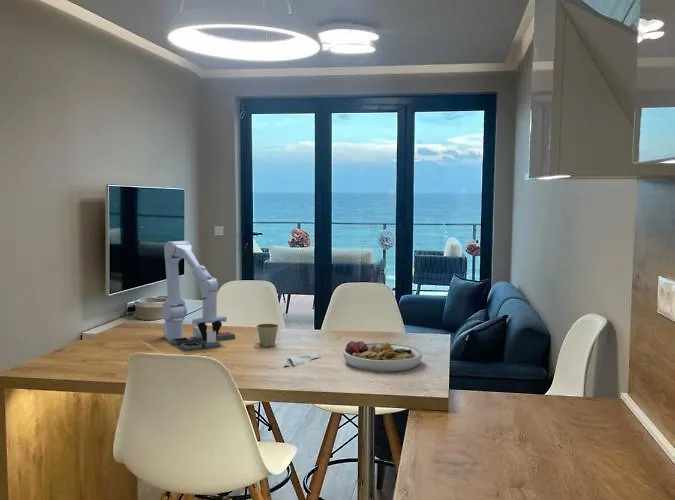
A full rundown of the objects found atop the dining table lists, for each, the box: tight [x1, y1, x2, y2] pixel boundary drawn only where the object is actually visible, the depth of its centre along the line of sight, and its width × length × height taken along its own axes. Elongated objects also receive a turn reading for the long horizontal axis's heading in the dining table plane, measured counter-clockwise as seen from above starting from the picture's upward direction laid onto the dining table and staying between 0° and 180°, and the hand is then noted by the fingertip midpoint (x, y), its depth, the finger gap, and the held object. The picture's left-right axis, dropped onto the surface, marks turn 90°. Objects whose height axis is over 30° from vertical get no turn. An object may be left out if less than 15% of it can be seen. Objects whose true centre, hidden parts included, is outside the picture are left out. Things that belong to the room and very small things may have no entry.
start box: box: [216, 330, 236, 342], centre depth 278 cm, size 8×8×3 cm
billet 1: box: [192, 326, 202, 339], centre depth 271 cm, size 4×4×6 cm
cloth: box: [282, 353, 321, 369], centre depth 244 cm, size 26×14×2 cm, turn 138°
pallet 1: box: [165, 336, 203, 348], centre depth 269 cm, size 10×18×2 cm, turn 125°
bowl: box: [342, 340, 423, 373], centre depth 241 cm, size 30×30×8 cm
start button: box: [218, 330, 228, 335], centre depth 278 cm, size 4×4×2 cm
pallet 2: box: [175, 340, 226, 353], centre depth 260 cm, size 10×18×2 cm, turn 125°
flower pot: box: [256, 323, 279, 348], centre depth 269 cm, size 9×9×9 cm
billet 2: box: [203, 329, 217, 344], centre depth 262 cm, size 4×4×6 cm
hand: (209, 340), depth 262 cm, fingers closed on billet 2, 4 cm apart
